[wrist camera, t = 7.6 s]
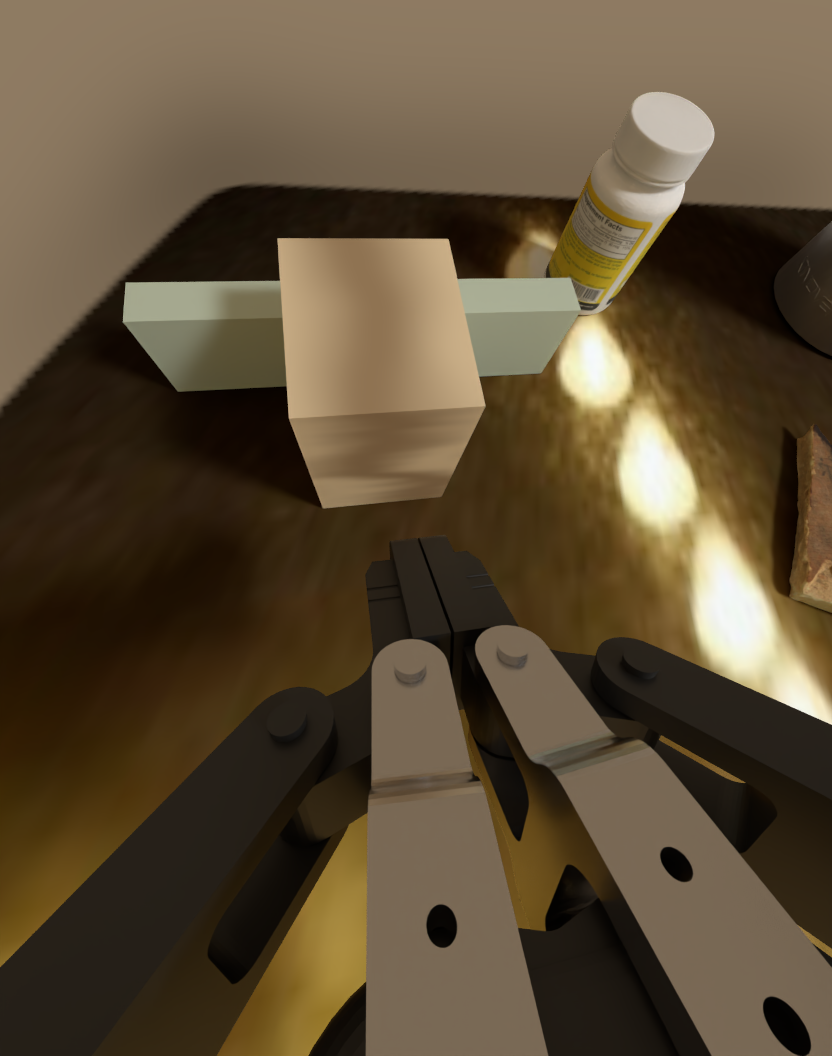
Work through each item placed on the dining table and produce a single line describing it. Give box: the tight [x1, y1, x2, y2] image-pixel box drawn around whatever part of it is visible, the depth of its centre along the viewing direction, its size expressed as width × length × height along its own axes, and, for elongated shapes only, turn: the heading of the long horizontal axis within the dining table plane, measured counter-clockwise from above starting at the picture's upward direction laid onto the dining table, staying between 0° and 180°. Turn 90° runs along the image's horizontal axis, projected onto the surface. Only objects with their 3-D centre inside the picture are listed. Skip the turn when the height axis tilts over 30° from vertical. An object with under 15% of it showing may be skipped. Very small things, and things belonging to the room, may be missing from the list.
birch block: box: [278, 238, 485, 508], centre depth 16 cm, size 6×7×8 cm
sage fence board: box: [123, 278, 581, 392], centre depth 19 cm, size 20×2×4 cm, turn 99°
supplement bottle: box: [544, 92, 714, 315], centre depth 21 cm, size 5×5×8 cm
